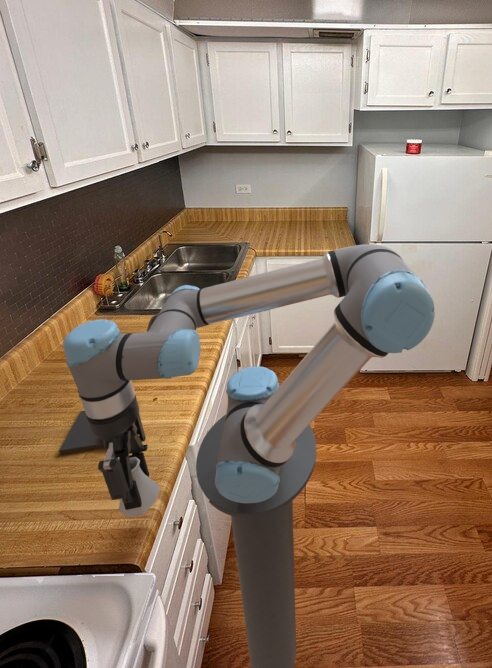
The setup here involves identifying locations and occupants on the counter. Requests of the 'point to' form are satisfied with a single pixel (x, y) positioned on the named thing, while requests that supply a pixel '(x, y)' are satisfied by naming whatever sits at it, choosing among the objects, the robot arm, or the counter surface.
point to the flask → (141, 490)
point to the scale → (81, 437)
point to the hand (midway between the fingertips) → (138, 491)
